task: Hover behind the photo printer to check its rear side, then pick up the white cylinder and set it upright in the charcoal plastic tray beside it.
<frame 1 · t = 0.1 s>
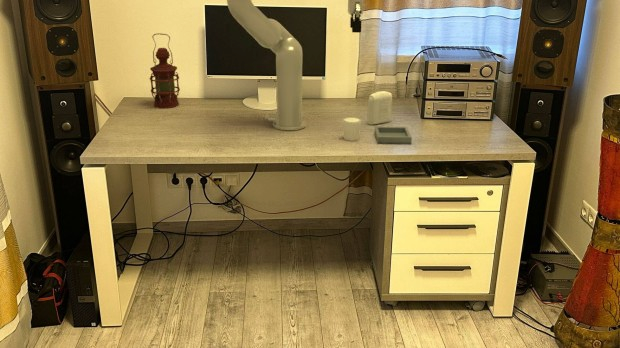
hand: (355, 30, 231), 37 cm above the table, tool pointing down, fingers open, 9 cm apart
parts tray: (392, 138, 232), on the table
lantern: (166, 105, 269), on the table
white cylinder: (351, 138, 232), on the table
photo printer: (378, 122, 250), on the table
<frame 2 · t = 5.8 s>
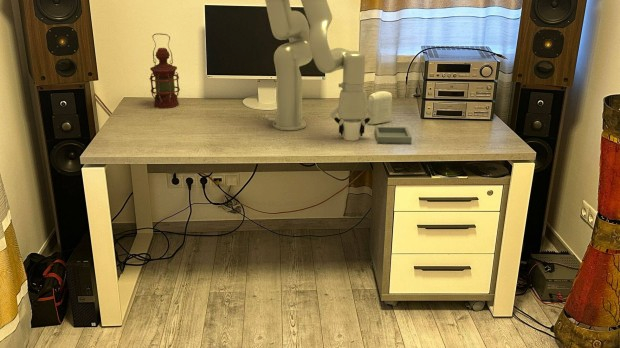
hand: (351, 134, 231), 1 cm above the table, tool pointing down, fingers closed on white cylinder, 6 cm apart
white cylinder: (351, 138, 232), on the table, touching gripper
everything else where it was.
when the fingers open (3 cm above the table, at t = 11.2 s): white cylinder drops 2 cm, resting on parts tray.
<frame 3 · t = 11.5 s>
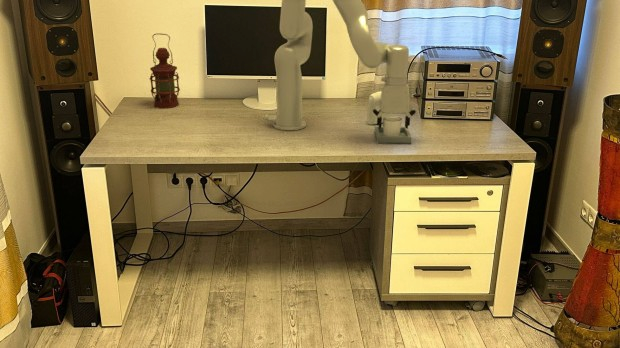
hand: (393, 127, 230), 4 cm above the table, tool pointing down, fingers open, 9 cm apart
white cylinder: (391, 137, 232), resting on parts tray
everything else where it was.
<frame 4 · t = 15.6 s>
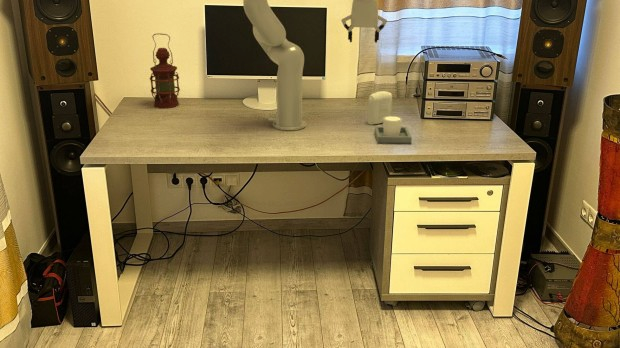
hand: (363, 41, 244), 30 cm above the table, tool pointing down, fingers open, 9 cm apart
nothing on the table moved.
at the end: white cylinder 0.4 cm off-centre on the parts tray, point 0.4 cm above the parts tray's base; white cylinder tilted 0°; the gripper is holding nothing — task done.
